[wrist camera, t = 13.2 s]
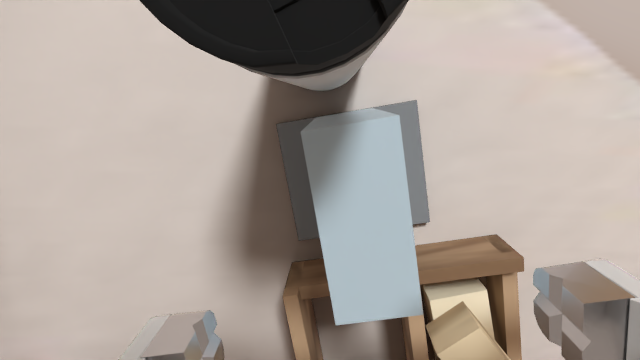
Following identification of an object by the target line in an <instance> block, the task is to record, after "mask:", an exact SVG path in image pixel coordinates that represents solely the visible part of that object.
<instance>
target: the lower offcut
mask: <svg viewBox="0 0 640 360" xmlns="http://www.w3.org/2000/svg"><path fill="white" fill-rule="evenodd" d="M421 290H422V295H423V300H424V305H425V310H426V315H427V320H428V323H430V322H431V321H433V320H435V319H436V318H438V317H439V316H441V315H442V314H444V313H445V312H447V311H448V310H450V309H451V308H453V307H454V306H456V305H457V304H459V303H460V302H462V301H463V302H464V303H465V304H466V306H467V307H468V308H469V309H470V310H471V312H472V313H473V314H474V315H475V317H476V318H477V319H478V320H479V321H480V323H481V324H482V325H483V326H484V328H485V329H486V330H487V331H488V332H489V334H490V335H491V336H492V337H493V339H494V340H495V338H494V332H493V325H492V319H491V312H490V306H489V299H488V293H487V289H486V288H485V287H484V285H483V284H482V283H481V282H480V280H479V279H478V278H477V277H476V278H468V279H460V280H452V281H444V282H437V283H429V284H421ZM432 345H433V344H432ZM433 350H434V355H435V360H441V359H440V358H439V357H438V356H437V354H436V351H435V349H434V346H433Z"/></svg>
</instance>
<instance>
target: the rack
mask: <svg viewBox="0 0 640 360" xmlns="http://www.w3.org/2000/svg"><path fill="white" fill-rule="evenodd" d="M415 250H416V258H417V267H418V275H419V283H420V285H421V284H429V283H437V282H444V281H452V280H460V279H468V278H476V277H483V276H486V281H487V293H488V299H489V306H490V312H491V319H492V325H493V332H494V338H495V341H496V342H497V343H498V345H499V346H500V347H501V348H502V350H503V351H504V352H505V353H506V354H507V356H508V357H509V358H510V359H511V360H522V356H521V337H520V318H519V300H518V281H517V272H522V271H524V257H522V256H521V255H520V254H519V253H518V252H517V251H515V250H514V249H513V248H512V247H511V246H509V245H508V244H507V243H506V242H505V241H504V240H502V239H501V238H500V237H499V236H498V235H497V234H496V235H489V236H482V237H474V238H467V239H460V240H453V241H445V242H438V243H431V244H424V245H416V246H415ZM420 292H421V290H420ZM327 296H330V291H329V286H328V280H327V275H326V269H325V264H324V258H322V259H314V260H307V261H300V262H292V264H291V268H290V271H289V275H288V279H287V282H286V286H285V290H284V293H283V301H284V305H285V310H286V315H287V319H288V324H289V329H290V334H291V338H292V343H293V348H294V352H295V357H296V360H323V355H322V350H321V345H320V340H319V335H318V330H317V325H316V319H315V314H314V309H313V304H312V298H320V297H327ZM421 300H422V298H421ZM422 308H423V307H422ZM401 321H402V328H403V336H404V343H405V351H406V358H407V360H429V357H428V349H427V340H426V332H425V323H424V315H417V316H409V317H401Z"/></svg>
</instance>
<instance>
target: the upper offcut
mask: <svg viewBox="0 0 640 360" xmlns="http://www.w3.org/2000/svg"><path fill="white" fill-rule="evenodd" d="M425 326H426V328H427V331H428V333H429V336H430V338H431V341H432V344H433V346H434V349H435V351H436V354H437V356H438V357H439V358H440V359H441V360H511V359H510V358H509V357H508V356H507V354H506V353H505V352H504V351H503V350H502V348H501V347H500V346H499V345H498V343H497V342H496V341H495V340H494V339H493V337H492V336H491V335H490V334H489V332H488V331H487V330H486V329H485V328H484V326H483V325H482V324H481V323H480V321H479V320H478V319H477V318H476V317H475V315H474V314H473V313H472V312H471V310H470V309H469V308H468V307H467V306H466V304H465V303H464V302H463V301H462V302H460V303H459V304H457V305H456V306H454V307H453V308H451V309H450V310H448V311H447V312H445V313H444V314H442V315H441V316H439V317H438V318H436V319H435V320H433V321H431V322H430V323H428V324H427V325H425Z"/></svg>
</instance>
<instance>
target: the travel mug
mask: <svg viewBox="0 0 640 360" xmlns="http://www.w3.org/2000/svg"><path fill="white" fill-rule="evenodd" d="M140 1H141V2H142V3H143V5H144V6H145V7H146V8H147V9H148V10H149V11H150V12H151V13H152V14H153V15H154V16H155V17H156V18H157V19H158V20H159V21H160V22H161V23H162V24H163V25H165V26H166V27H167V28H169V29H170V30H171V31H173V32H174V33H176V34H177V35H178V36H180V37H181V38H182V39H184V40H185V41H187V42H188V43H189V44H191V45H193V46H195V47H197V48H199V49H201V50H203V51H205V52H207V53H209V54H211V55H213V56H216V57H218V58H220V59H222V60H225V61H228V62H231V63H234V64H236V65H238V66H240V67H242V68H245V69H247V70H249V71H251V72H254V73H257V74H260V75H264V76H267V77H270V78H273V79H277V80H280V81H283V82H286V83H290V84H293V85H296V86H299V87H303V88H306V89H310V90H314V91H327V90H332V89H335V88H338V87H340V86H342V85H343V84H345V83H347V82H348V81H349V80H350V79H351V78H352V77H353V76H354V75H355V74H356V73H357V71H358V70H359V69H360V67H361V66H362V65H363V64H364V62H365V61H366V60H367V59H368V57H369V56H370V55H371V53H372V52H373V51H374V50H375V48H376V47H377V46H378V44H379V43H380V42H381V41H382V39H383V38H384V37H385V36H386V34H387V33H388V31H389V30H390V29H391V27H392V26H393V25H394V23H395V22H396V21H397V19H398V18H399V17H400V15H401V14H402V12H403V10H404V8H405V6H406V4H407V2H408V0H140Z"/></svg>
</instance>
